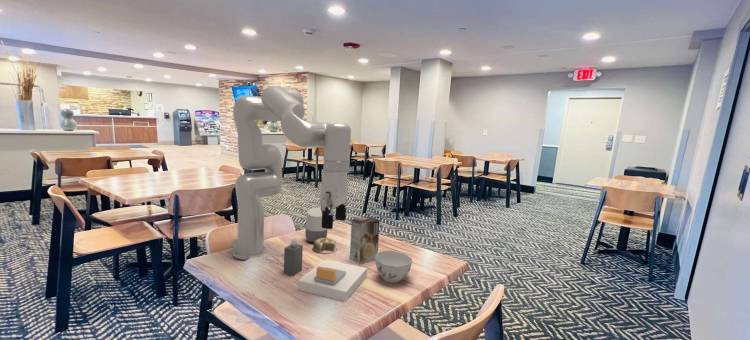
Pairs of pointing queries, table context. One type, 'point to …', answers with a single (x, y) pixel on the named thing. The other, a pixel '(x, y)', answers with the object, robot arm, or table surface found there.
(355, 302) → the table surface
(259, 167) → the robot arm
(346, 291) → the socket board
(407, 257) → the white bowl
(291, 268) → the plug
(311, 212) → the smart speaker
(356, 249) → the coffee box
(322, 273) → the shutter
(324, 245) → the cake
